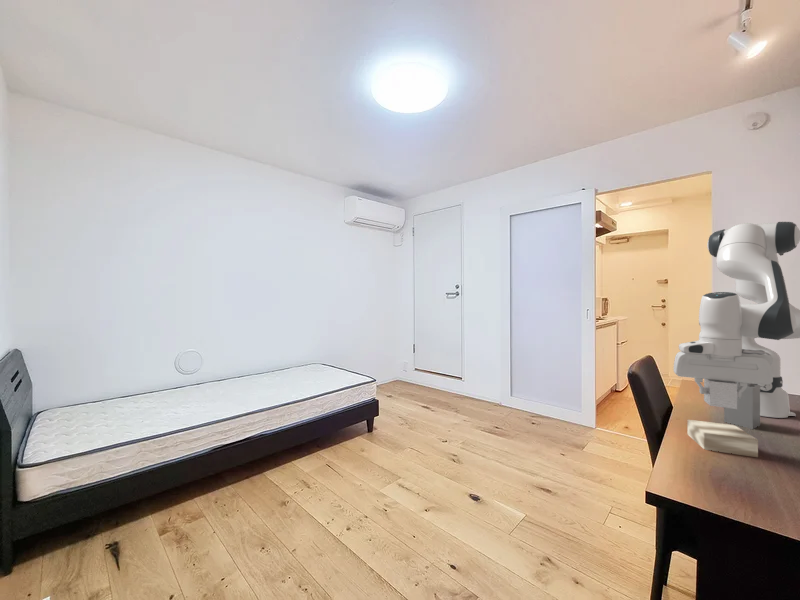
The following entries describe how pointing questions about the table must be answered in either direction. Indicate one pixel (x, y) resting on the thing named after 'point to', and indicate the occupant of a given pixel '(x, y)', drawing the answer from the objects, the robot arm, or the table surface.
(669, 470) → the table surface
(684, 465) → the table surface
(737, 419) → the perfume bottle
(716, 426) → the cream square dish
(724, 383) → the grey block
